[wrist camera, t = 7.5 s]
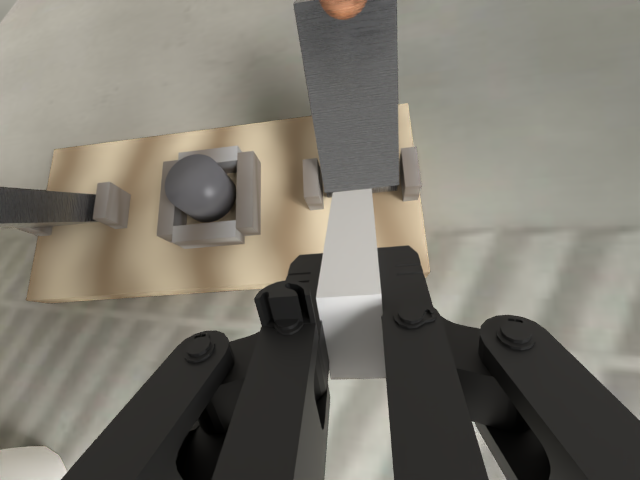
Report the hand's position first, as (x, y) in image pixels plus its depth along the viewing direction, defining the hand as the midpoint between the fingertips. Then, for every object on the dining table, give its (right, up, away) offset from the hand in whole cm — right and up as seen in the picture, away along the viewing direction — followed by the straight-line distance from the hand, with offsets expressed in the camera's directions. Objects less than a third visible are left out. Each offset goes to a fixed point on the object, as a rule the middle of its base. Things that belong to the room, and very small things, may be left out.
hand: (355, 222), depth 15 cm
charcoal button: (-9, +2, +12) cm, 16 cm away
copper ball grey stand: (+1, +3, +11) cm, 11 cm away
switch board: (-9, +2, +15) cm, 18 cm away
